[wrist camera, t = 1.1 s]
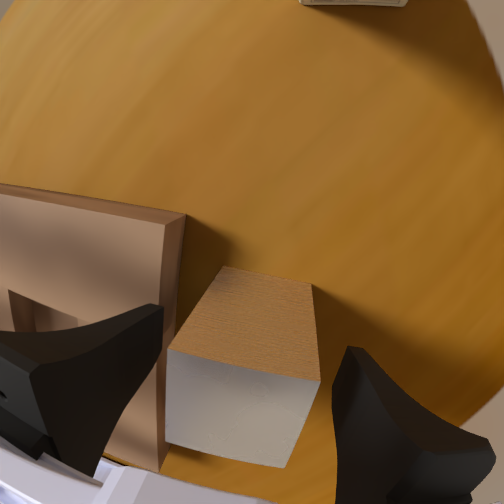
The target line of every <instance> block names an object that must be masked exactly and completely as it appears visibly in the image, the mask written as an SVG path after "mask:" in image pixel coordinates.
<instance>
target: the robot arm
mask: <svg viewBox="0 0 504 504" xmlns="http://www.w3.org/2000/svg"><path fill="white" fill-rule="evenodd" d="M163 322H164V307H163V306H159V305H156V304H152V303H149V304H145V305H143V306H140V307H137V308H135V309H132V310H129V311H127V312H124V313H122V314H119V315H116V316H114V317H111V318H108V319H105V320H102V321H98V322H95V323H92V324H89V325H85V326H80V327H76V328H71V329H64V330H56V331H48V332H13V331H2V330H0V504H278V503H275V502H271V501H268V500H264V499H261V498H257V497H252V496H246V495H241V494H236V493H231V492H226V491H221V490H217V489H213V488H209V487H205V486H201V485H197V484H193V483H189V482H186V481H182V480H179V479H176V478H172V477H169V476H166V475H163V474H160V473H157V472H154V471H151V470H147V469H142V468H138V467H134V466H122V465H120V464H117V463H115V462H112V461H110V460H108V459H105V458H103V457H102V454H103V452H104V449H105V447H106V445H107V443H108V441H109V439H110V437H111V434H112V432H113V430H114V428H115V426H116V424H117V422H118V420H119V418H120V417H121V415H122V413H123V411H124V409H125V408H126V406H127V405H128V403H129V402H130V400H131V399H132V398H133V396H134V395H135V393H136V392H137V390H138V389H139V388H140V386H141V385H142V383H143V382H144V380H145V379H146V378H147V376H148V375H149V373H150V372H151V370H152V369H153V367H154V365H155V363H156V361H157V359H158V357H159V355H160V353H161V351H162V343H163ZM332 414H333V423H334V431H335V439H336V447H337V486H336V500H335V504H470V503H471V502H472V497H471V494H470V493H471V491H473V490H474V489H475V488H476V487H477V486H478V485H479V484H480V483H481V482H482V481H483V479H484V478H485V477H486V476H487V475H488V474H489V473H490V471H491V470H492V468H493V466H494V464H495V462H496V455H495V453H494V451H493V449H492V447H491V445H490V443H489V441H488V439H487V438H484V437H481V436H478V435H475V434H472V433H470V432H467V431H465V430H463V429H460V428H458V427H456V426H454V425H452V424H450V423H448V422H446V421H445V420H443V419H441V418H439V417H438V416H436V415H435V414H433V413H431V412H430V411H428V410H427V409H426V408H424V407H423V406H421V405H420V404H419V403H418V402H416V401H415V400H414V399H412V398H411V397H410V396H409V395H408V394H407V393H405V392H404V391H403V390H402V389H401V388H400V387H399V386H398V385H397V384H396V383H395V382H394V381H393V380H392V379H391V378H390V377H389V376H388V375H387V374H386V373H385V372H384V371H383V369H382V368H381V367H380V366H379V365H378V364H377V363H376V362H375V361H374V360H373V358H372V357H371V356H370V355H369V354H368V353H367V352H366V351H365V350H364V349H363V348H358V347H352V346H347V349H346V352H345V354H344V357H343V360H342V362H341V365H340V368H339V370H338V373H337V375H336V378H335V380H334V383H333V385H332ZM491 504H502V503H501V502H495V503H491Z"/></svg>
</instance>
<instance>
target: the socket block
mask: <svg viewBox="0 0 504 504" xmlns="http://www.w3.org/2000/svg"><path fill="white" fill-rule="evenodd" d="M185 221H186V214H182V213H177V212H171V211H166V210H160V209H155V208H149V207H144V206H138V205H132V204H127V203H121V202H115V201H109V200H103V199H97V198H91V197H85V196H79V195H73V194H67V193H61V192H54V191H48V190H41V189H35V188H28V187H22V186H15V185H8V184H1V183H0V330H2V331H13V332H48V331H56V330H64V329H71V328H76V327H80V326H85V325H89V324H92V323H95V322H98V321H102V320H105V319H108V318H111V317H114V316H116V315H119V314H122V313H124V312H127V311H129V310H132V309H135V308H137V307H140V306H143V305H145V304H149V303H152V304H156V305H159V306H163V307H164V322H163V343H162V351H161V353H160V355H159V357H158V359H157V361H156V363H155V365H154V367H153V369H152V370H151V372H150V373H149V375H148V376H147V378H146V379H145V380H144V382H143V383H142V385H141V386H140V388H139V389H138V390H137V392H136V393H135V395H134V396H133V398H132V399H131V400H130V402H129V403H128V405H127V406H126V408H125V409H124V411H123V413H122V415H121V417H120V418H119V420H118V422H117V424H116V426H115V428H114V430H113V432H112V434H111V437H110V439H109V441H108V443H107V445H106V447H105V449H104V452H106V453H108V454H110V455H113V456H115V457H118V458H120V459H123V460H125V461H128V462H130V463H133V464H136V465H138V466H141V467H144V468H147V469H149V470H152V471H155V472H158V473H159V471H160V469H161V466H162V464H163V462H164V460H165V457H166V455H167V453H168V451H169V448H170V443H169V442H166V441H165V408H166V369H167V348H168V347H169V345H170V344H171V342H172V341H173V339H174V333H175V319H176V307H177V295H178V284H179V274H180V264H181V255H182V246H183V237H184V229H185Z"/></svg>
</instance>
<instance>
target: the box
mask: <svg viewBox="0 0 504 504" xmlns="http://www.w3.org/2000/svg"><path fill="white" fill-rule="evenodd" d="M299 2H300V3H301V4H303V5H379V6H400V7H403V6H405V4H406V3H407V2H408V0H299Z"/></svg>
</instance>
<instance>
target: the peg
mask: <svg viewBox="0 0 504 504" xmlns="http://www.w3.org/2000/svg"><path fill="white" fill-rule="evenodd" d="M320 383H321V378H320V366H319V355H318V344H317V334H316V324H315V314H314V305H313V296H312V288H311V283H306V282H301V281H296V280H291V279H286V278H281V277H276V276H271V275H267V274H262V273H257V272H252V271H247V270H243V269H238V268H233V267H228V266H224V265H223V267H222V268H221V270H220V271H219V273H218V274H217V276H216V277H215V279H214V280H213V281H212V283H211V284H210V286H209V287H208V289H207V290H206V292H205V293H204V295H203V296H202V298H201V299H200V301H199V302H198V304H197V305H196V307H195V308H194V309H193V311H192V312H191V314H190V315H189V317H188V318H187V320H186V321H185V323H184V324H183V326H182V327H181V329H180V330H179V332H178V333H177V335H176V336H175V338H174V339H173V341H172V342H171V344H170V345H169V347H168V348H167V369H166V408H165V441H166V442H169V443H172V444H176V445H179V446H183V447H186V448H190V449H193V450H197V451H201V452H205V453H209V454H213V455H217V456H221V457H225V458H230V459H234V460H239V461H244V462H249V463H255V464H260V465H266V466H273V467H279V468H285V466H286V464H287V461H288V459H289V457H290V455H291V453H292V450H293V448H294V446H295V444H296V441H297V439H298V437H299V435H300V432H301V430H302V428H303V425H304V423H305V420H306V418H307V416H308V413H309V411H310V408H311V406H312V403H313V401H314V398H315V396H316V393H317V390H318V388H319V385H320Z"/></svg>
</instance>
